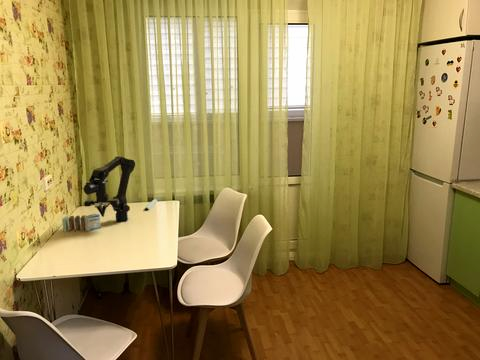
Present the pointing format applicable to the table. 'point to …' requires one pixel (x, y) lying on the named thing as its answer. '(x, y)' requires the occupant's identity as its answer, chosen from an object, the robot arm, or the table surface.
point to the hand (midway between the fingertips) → (103, 216)
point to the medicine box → (92, 222)
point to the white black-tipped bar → (150, 204)
